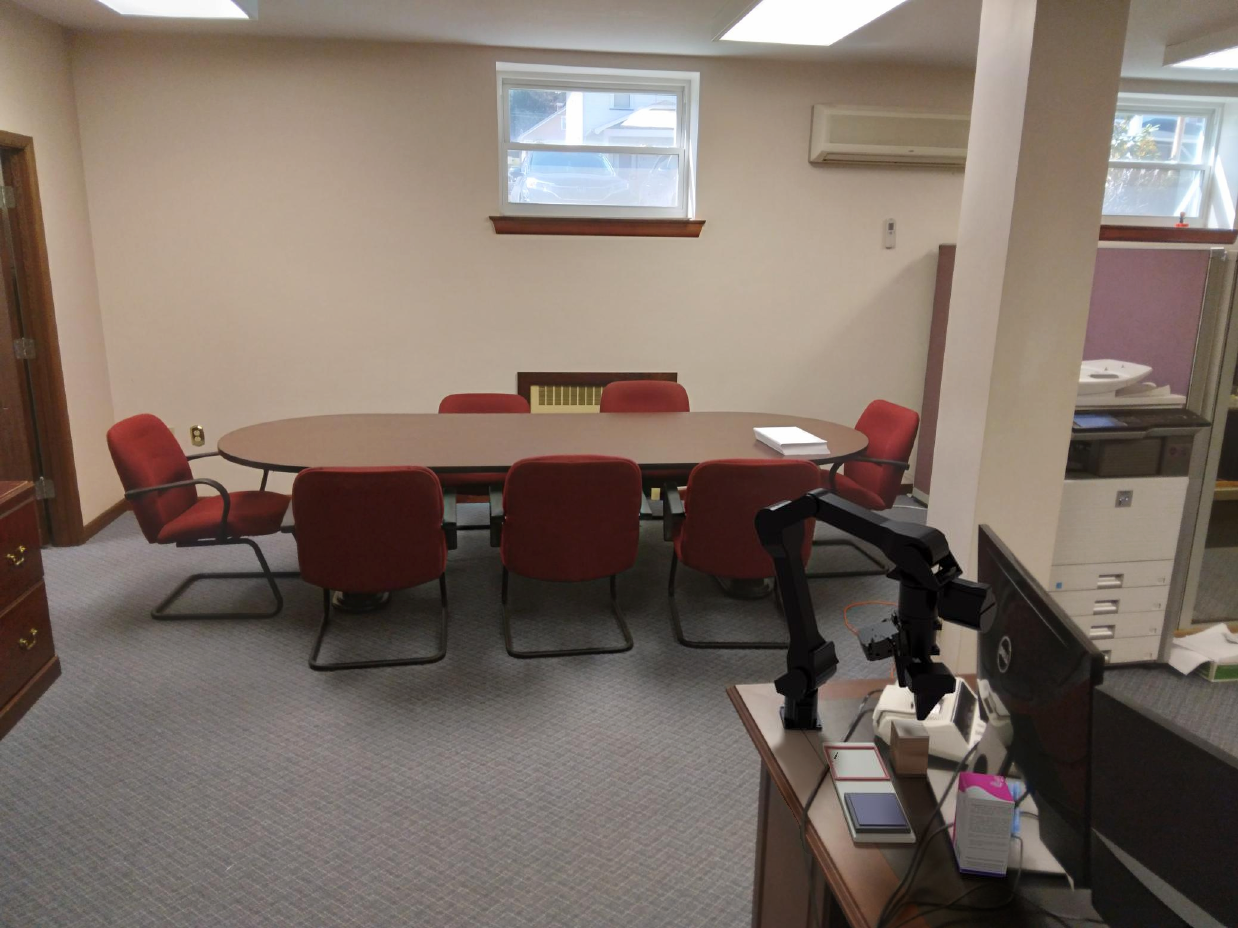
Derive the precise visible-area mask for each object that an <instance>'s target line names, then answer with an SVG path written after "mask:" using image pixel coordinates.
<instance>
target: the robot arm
mask: <svg viewBox="0 0 1238 928" xmlns="http://www.w3.org/2000/svg"><path fill="white" fill-rule="evenodd" d="M811 518H814V519H816V520H819V521H820V522H823V523H825V524H827V525H829V526H830V527H833V528H834V529H835V528H836V529H837V530H840V531H842V532H844V533H845V534H848V535H850V536H853V537H854V538H857V539H859V540H861V541H863V542H865V543H868V544H870V545H872V546H874V547H875V548H877V549H878V550H880V551H881V552H882V553H883V555H884V556H885V558H886V559H887V560H888V561H889V562H890V563H892V564H893V565H895V567H894V568H893V569H891V570H890V571H888V572H886V573H885V577H886V578H887V579H891V580H894V581H897V582H899V584H898V585H899V587H898V601H897V609H893V612H891V614H890V615H891V617H890V618H887V617H885V618H883V620H882V621H880V622H877V623H874V624H872V625H868V626H866V627H862V628H860V629H858V630H857V631H856V636H857V639H858V642H859V644H860V647H861V651H862V652H863V654H864V656H865V658H866V660H867V661H869V662H875V661H879V662H880V661H882V660H883V661H884V660H887V659H889V658H892V659H893V660H892V661H893V664H894V670H895V674H896V679H897V683H898V687H899V688H901V689H906V688H907V689H908V691H909V692H910V693H911V694H913V699H914V710H915V717H916V718H915V719H917V720H918V721H922V722H924V721H925V720H926V719H927V718H928V717H929V715H930V714H931V713H932V711H933V710H934V709H935V708H936V706H937V704H938V703H939V702H940V701H941V700H942V699H943V697H944V696H945V695H950V694H953V695H954V693H955V692H956V691H957V690H956V689H957V678H956V677H955V676H954V674H953V673H952V671H951V670H950V668H949V667H948V666H947V665H946V664H945V663H944V662H942V661H941V662H938V661H937V662H935V661H933V659H932V658H931V656H941V655H940V654H941V649H940V647H939V646H938V644H937V635H938V631H942V630H943V623H942V622H941V621H940V619H942V620H943V622H946V623H950V624H953V625H957V626H959V627H961V628H962V627H963V628H966V629H970V630H972V631H976V632H979V633H981V634H986V633H988V631H990V629H991V627H992V626H993V623H994V621H995V618H996V615H997V608H998V603H997V602H996V600H997V599H996V595H995V594H994V593H993V586H992V585H991V584H988V583H985V582H975V581H972V580H969V579H965V578H960V577H961V576H962V575H963V574H964V571H963V569H962V568H961V566H960V565H959V562H958V561H957V559H956V557H955V556H954V554H953V553H952V551H951V549H950V545H949V541H948V540H947V538H946V534H945V533H943V532H942V531H941V530H940V529H938V528H936V527H934V526H929V525H924V524H922V523H918V522H907V521H897V520H893V519H890V518H888V517H886V516H883V515H881V514H879V513H877V512H874V511H872V510H870V509H867V508H865V507H863V506H860V505H859V504H856V503H854V502H851V501H849V500H847V499H844V498H842V497H840V496H839V495H835V494H833V493H832V492H830V490H828V489H826V488H821V487H818V488H815V489H812V490H810V491H807V492H805V493H803V494H802V495H801V496H800V497H798V498H796V499H794V500H792V501H791V500H787V499H786V500H782V501H779V502H776V503H774V504H772V505H769V506H766V507H764V508H761V509H760V510H758V512H756V515H755V516H754V518H753V527H754V530H755V533H756V535H757V538H758V541H759V544H760V546H761V547H762V548H763V549H764V550H765V552H766V553H767V554H768V555H769V556H770V557H771V559H772V563H773V569H774V573H775V576H776V581H777V584H778V585H777V586H778V589H779V590H778V591H779V594H780V598H781V603H782V608H783V612H784V613H783V614H784V616H785V621H786V625H787V629H788V634H789V642H788V648H787V652H786V656H785V662H786V673H784V674H783V675H781V676H779V677H778V678H776V679H775V680H773V684H774V687H775V691H776V693H777V694H779V695H781V696H784V702H783V703H784V705H781V706H779V711H780V716H781V720H782V724H783V727H784V729H785V730H822V729H823V723H822V721H821V717H820V714H819V712H818V711H819V709H818V707H819V688H820V687H821V686H823V685H825V684H826V683H827V681H830V679H833V678H834V675H836V673H837V670H838V664H840V660H839V659H838V657H837V654H836V645H835V642H834V641H833V640H829V641H827V640H826V639H825V638H824V637H823V636H822V635H821V633H820V632H819V627H818V623H817V618H816V614H815V610H814V606H813V601H812V596H811V591H810V588H809V583H808V579H807V573H806V569H805V565H804V560H803V556H802V549H803V545H804V540H805V537H806V536H805V535H806V528H805V527H806V526H805V521H806V520H809V519H811ZM936 566H940V569H939V570H937V571H936V572H934V571H933V569H934V568H935V567H936Z"/></svg>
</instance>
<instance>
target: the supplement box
mask: <svg viewBox="0 0 1238 928" xmlns="http://www.w3.org/2000/svg"><path fill="white" fill-rule="evenodd" d="M956 793H957V794H956V803H955V811H954V819H953V828H952V835H951V836H952V837H951V845H952V849H953V853H954V856H955V860H956V863H957V867H958V870H959V872H960V873H966V874H974V875H975V874H976V875H984V876H991V877H999V878H1005V877H1006V876H1007V868H1008V867H1007V866H1008V861H1009V860H1008V859H1009V852H1010V846H1011V845H1010V844H1011V838H1012V829H1013V823H1014V822H1013V821H1014V812H1015V804H1016V803H1015V800H1014V797H1013V796H1012V793H1011V790H1010V789H1009V786H1008V784H1007V782H1006V780H1005V777H1004V776H1002V775H995V774H986V773H985V774H982V773H975V772H968V771H967V772H966V771H959V775H958V783H957V792H956Z"/></svg>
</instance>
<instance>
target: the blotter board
mask: <svg viewBox="0 0 1238 928" xmlns="http://www.w3.org/2000/svg"><path fill="white" fill-rule="evenodd" d="M821 747H822V750H823V753H824V756H825V759H826V762H827V765H828V764H829V765H830V769H829V772H830V774H831V777H832V781H833V783H834V786H835V789H836V792H837V795H838V798H839V801H840V804H841V808H842V811H843V813H844V816H845V819H846V822H847V826H848V828H849V832H850V834H851V838H852V841H853V843H908V844H909V843H912V844H913V843H916V840H917V837H916V835H915V833H914V830H913V828H912V827H911V824H910V822H909V819H908V817H907V815H906V813H905V811H904V808H903V806H902V804H901V800H900V799H899V797H898V795H897V793H896V792H897V791H896V789H895V788H894V786H893V783H892V781H891V777H890V775H889V772H888V770H887V768H886V766H885V763H884V761H883V758H882V757H881V755H880V752H879V749H878V748H877V745H876V744H875V742H822V745H821ZM837 752H838V754H837ZM836 754H837V757H836V759H834V757H835V755H836ZM832 761H833V762H832Z"/></svg>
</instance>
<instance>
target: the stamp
mask: <svg viewBox="0 0 1238 928" xmlns="http://www.w3.org/2000/svg"><path fill="white" fill-rule="evenodd" d="M890 726H891V727H890V737H889V738H890V739H889V756H888V760H889V762H890V764H891V767H892V768H893V771H894V774H895V775H896V777H897V778H927V776H928V764H929V763H928V762H929V749H930V738H931V737H930V733H929V731H928V730H927V728H926V727H925V725H924V723H923V721H918V720H917V718H891V722H890Z"/></svg>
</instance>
